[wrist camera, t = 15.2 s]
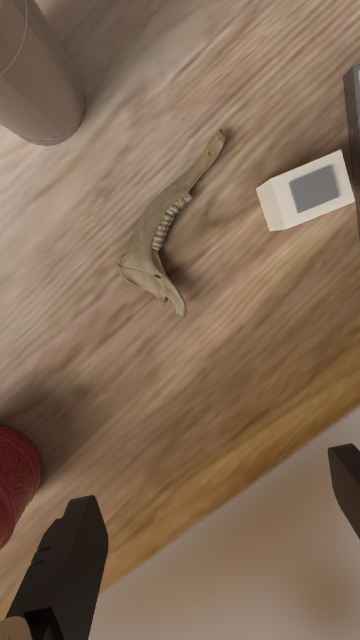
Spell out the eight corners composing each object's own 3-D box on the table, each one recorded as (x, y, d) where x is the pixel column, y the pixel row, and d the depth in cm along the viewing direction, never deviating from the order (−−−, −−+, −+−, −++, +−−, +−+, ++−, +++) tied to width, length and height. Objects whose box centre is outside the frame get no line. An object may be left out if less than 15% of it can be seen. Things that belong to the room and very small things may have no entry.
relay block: (255, 188, 37) (271, 178, 31) (315, 164, 37) (343, 148, 31) (269, 231, 38) (287, 229, 32) (327, 208, 38) (357, 201, 32)
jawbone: (114, 298, 40) (109, 301, 38) (146, 117, 36) (141, 109, 34) (186, 315, 40) (185, 319, 38) (227, 132, 35) (227, 125, 33)
